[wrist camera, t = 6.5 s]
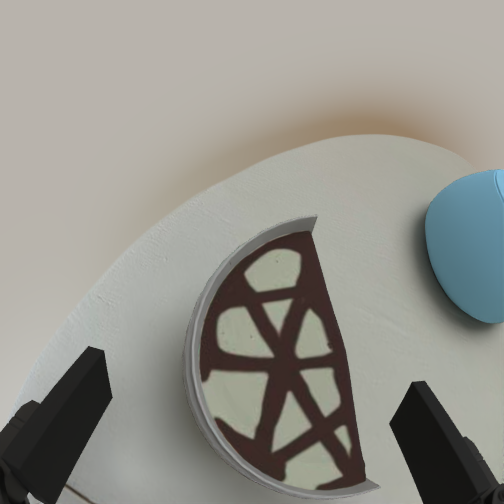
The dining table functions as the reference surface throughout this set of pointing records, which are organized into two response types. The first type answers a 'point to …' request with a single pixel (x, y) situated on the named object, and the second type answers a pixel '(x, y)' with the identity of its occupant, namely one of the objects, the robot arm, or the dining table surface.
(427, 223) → the sugar bowl
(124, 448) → the dining table surface
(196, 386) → the food container
